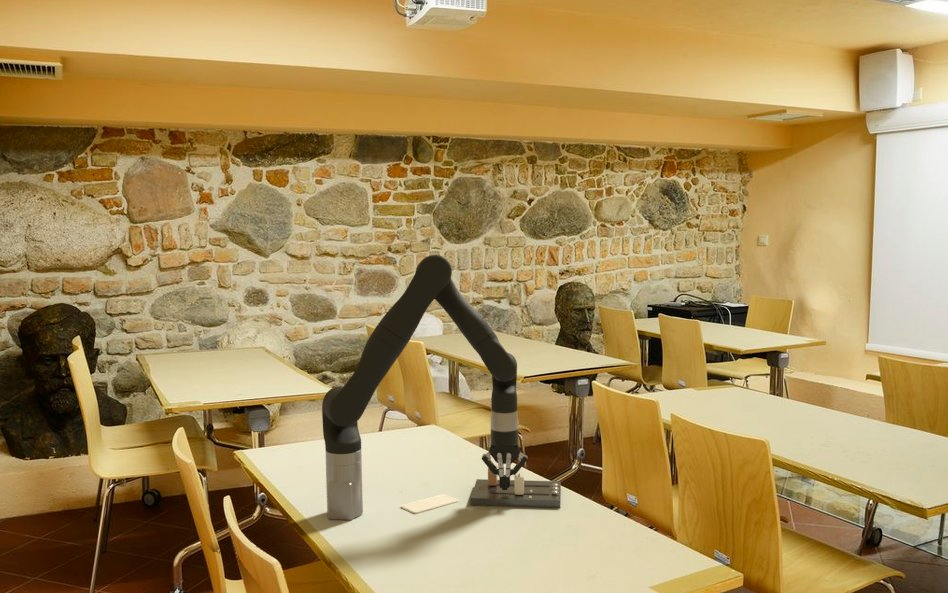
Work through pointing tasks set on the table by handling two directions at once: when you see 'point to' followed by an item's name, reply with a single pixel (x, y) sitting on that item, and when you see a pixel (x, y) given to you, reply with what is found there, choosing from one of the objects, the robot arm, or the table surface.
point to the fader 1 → (492, 478)
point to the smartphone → (429, 503)
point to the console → (533, 496)
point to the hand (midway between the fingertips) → (504, 489)
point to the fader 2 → (519, 484)
